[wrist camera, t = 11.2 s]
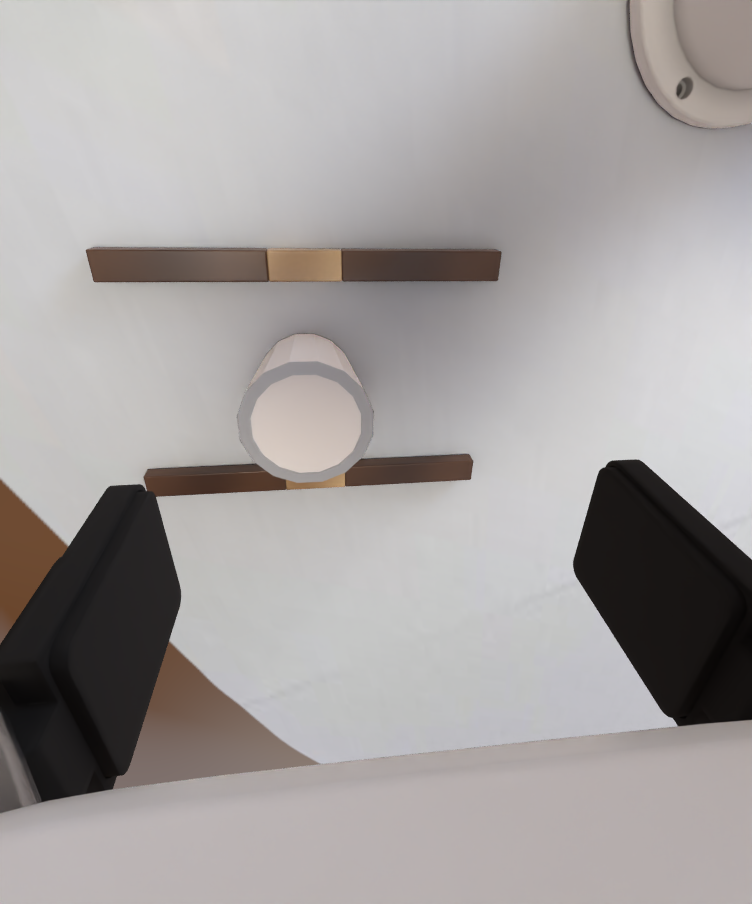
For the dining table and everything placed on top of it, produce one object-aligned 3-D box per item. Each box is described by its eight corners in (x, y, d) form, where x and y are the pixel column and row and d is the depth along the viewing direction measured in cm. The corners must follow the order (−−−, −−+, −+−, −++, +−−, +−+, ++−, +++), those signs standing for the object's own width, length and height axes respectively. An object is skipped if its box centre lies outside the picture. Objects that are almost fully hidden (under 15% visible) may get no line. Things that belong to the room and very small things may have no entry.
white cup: (350, 433, 33) (360, 491, 27) (245, 418, 31) (231, 476, 25) (371, 333, 29) (388, 374, 23) (256, 312, 28) (242, 349, 22)
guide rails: (496, 249, 28) (502, 251, 27) (467, 472, 35) (471, 480, 35) (92, 247, 25) (84, 249, 24) (152, 489, 33) (148, 497, 32)
